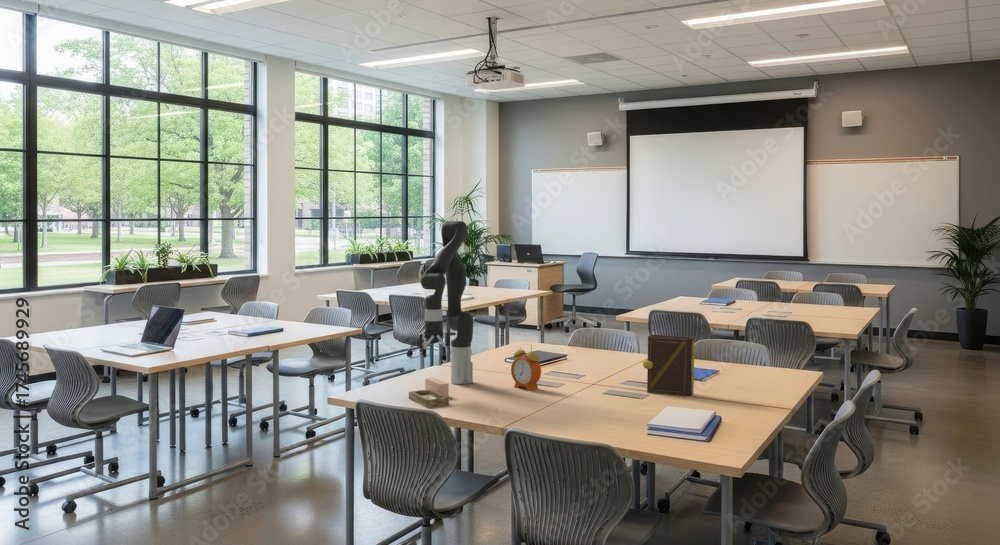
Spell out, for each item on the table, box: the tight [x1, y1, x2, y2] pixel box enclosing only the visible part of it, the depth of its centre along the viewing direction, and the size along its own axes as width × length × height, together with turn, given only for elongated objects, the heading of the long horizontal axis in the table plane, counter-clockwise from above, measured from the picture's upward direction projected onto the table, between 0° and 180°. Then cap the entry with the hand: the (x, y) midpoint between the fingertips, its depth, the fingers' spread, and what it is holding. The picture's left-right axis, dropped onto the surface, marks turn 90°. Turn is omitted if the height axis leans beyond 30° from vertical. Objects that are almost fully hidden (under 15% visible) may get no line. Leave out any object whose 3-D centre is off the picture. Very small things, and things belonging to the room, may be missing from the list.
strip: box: [424, 377, 450, 397], centre depth 336 cm, size 4×14×6 cm, turn 32°
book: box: [642, 334, 695, 397], centre depth 338 cm, size 22×8×25 cm, turn 65°
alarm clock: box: [510, 344, 542, 392], centre depth 347 cm, size 13×6×20 cm, turn 47°
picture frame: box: [408, 389, 450, 409], centre depth 322 cm, size 10×18×3 cm, turn 30°
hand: (433, 356), depth 335 cm, fingers open, 8 cm apart
